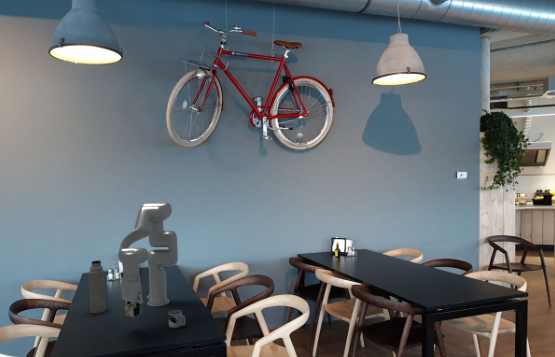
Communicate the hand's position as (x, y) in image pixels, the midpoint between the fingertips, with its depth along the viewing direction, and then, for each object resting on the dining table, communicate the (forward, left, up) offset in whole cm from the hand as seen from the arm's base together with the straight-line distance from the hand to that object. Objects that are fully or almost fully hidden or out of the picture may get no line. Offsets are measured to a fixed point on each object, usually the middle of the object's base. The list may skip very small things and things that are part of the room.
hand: (133, 313), depth 208 cm
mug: (+14, +15, -9) cm, 23 cm away
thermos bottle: (-43, +9, -9) cm, 45 cm away
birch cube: (0, 0, -1) cm, 1 cm away
